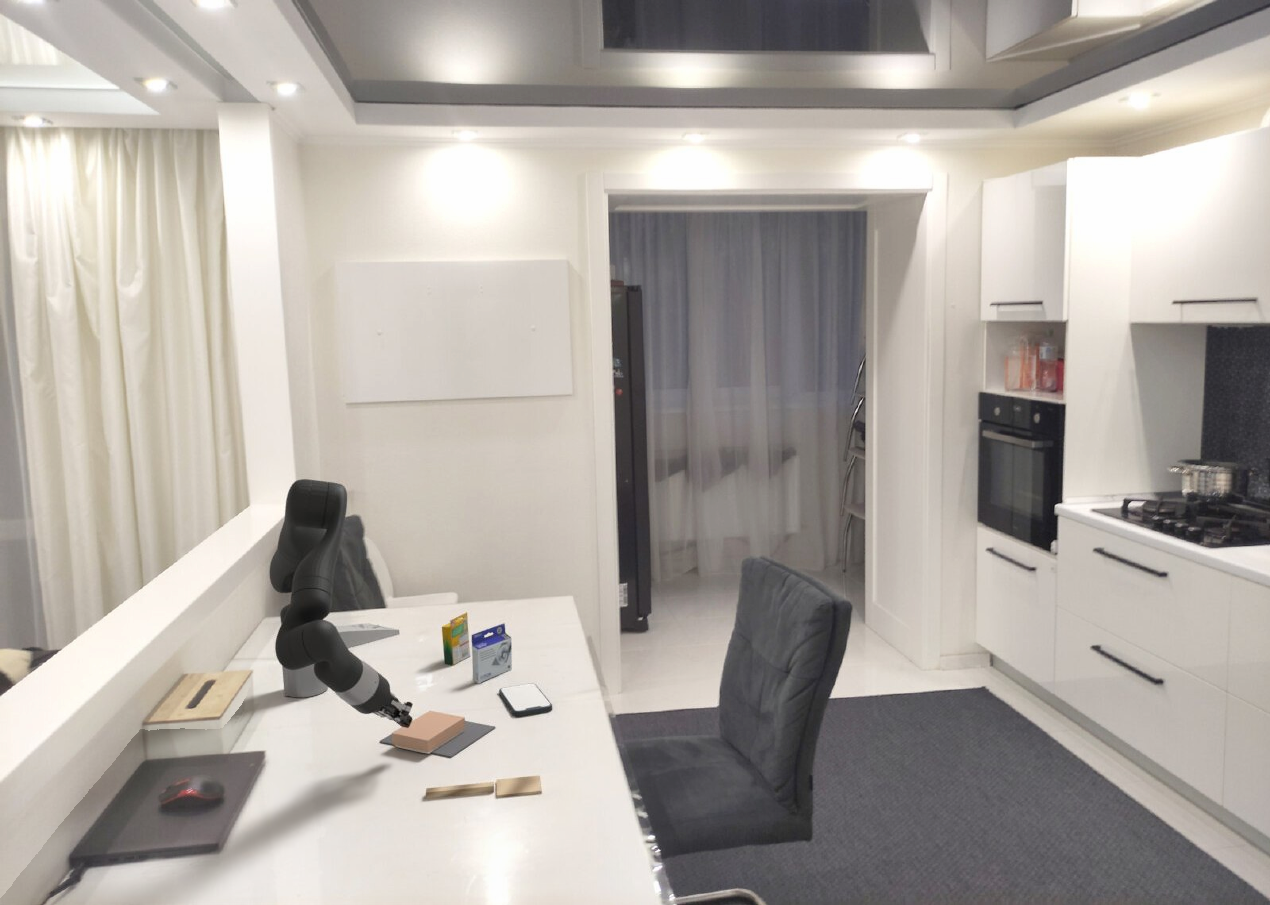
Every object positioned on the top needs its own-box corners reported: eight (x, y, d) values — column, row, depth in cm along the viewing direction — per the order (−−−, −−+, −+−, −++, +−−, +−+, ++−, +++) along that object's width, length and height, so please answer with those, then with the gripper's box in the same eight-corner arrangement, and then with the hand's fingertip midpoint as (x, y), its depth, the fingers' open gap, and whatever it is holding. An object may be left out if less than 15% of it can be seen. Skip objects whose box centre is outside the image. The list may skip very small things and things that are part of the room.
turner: (425, 804, 171) (424, 798, 171) (427, 788, 177) (427, 782, 176) (541, 793, 174) (541, 787, 173) (540, 777, 179) (539, 771, 179)
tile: (391, 733, 193) (429, 710, 204) (392, 747, 194) (430, 724, 204) (427, 740, 189) (464, 717, 200) (428, 755, 190) (465, 731, 200)
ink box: (479, 684, 227) (476, 636, 225) (472, 682, 228) (469, 635, 227) (513, 669, 236) (511, 623, 234) (506, 667, 237) (504, 622, 236)
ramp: (395, 627, 274) (394, 608, 273) (404, 643, 259) (403, 624, 258) (291, 641, 263) (289, 622, 263) (293, 660, 249) (292, 639, 248)
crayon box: (460, 654, 248) (458, 610, 246) (470, 656, 246) (468, 612, 245) (443, 664, 241) (440, 619, 239) (453, 665, 240) (450, 620, 238)
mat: (379, 742, 197) (379, 740, 197) (426, 714, 210) (426, 713, 210) (451, 757, 189) (451, 756, 189) (495, 728, 202) (495, 726, 202)
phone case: (497, 694, 222) (514, 719, 207) (497, 688, 222) (514, 712, 207) (535, 688, 225) (554, 712, 210) (535, 682, 225) (554, 705, 210)
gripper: (396, 671, 177) (442, 710, 190) (342, 661, 183) (390, 699, 196) (378, 710, 173) (426, 747, 186) (323, 698, 179) (373, 735, 192)
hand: (407, 722), depth 191 cm, fingers closed
